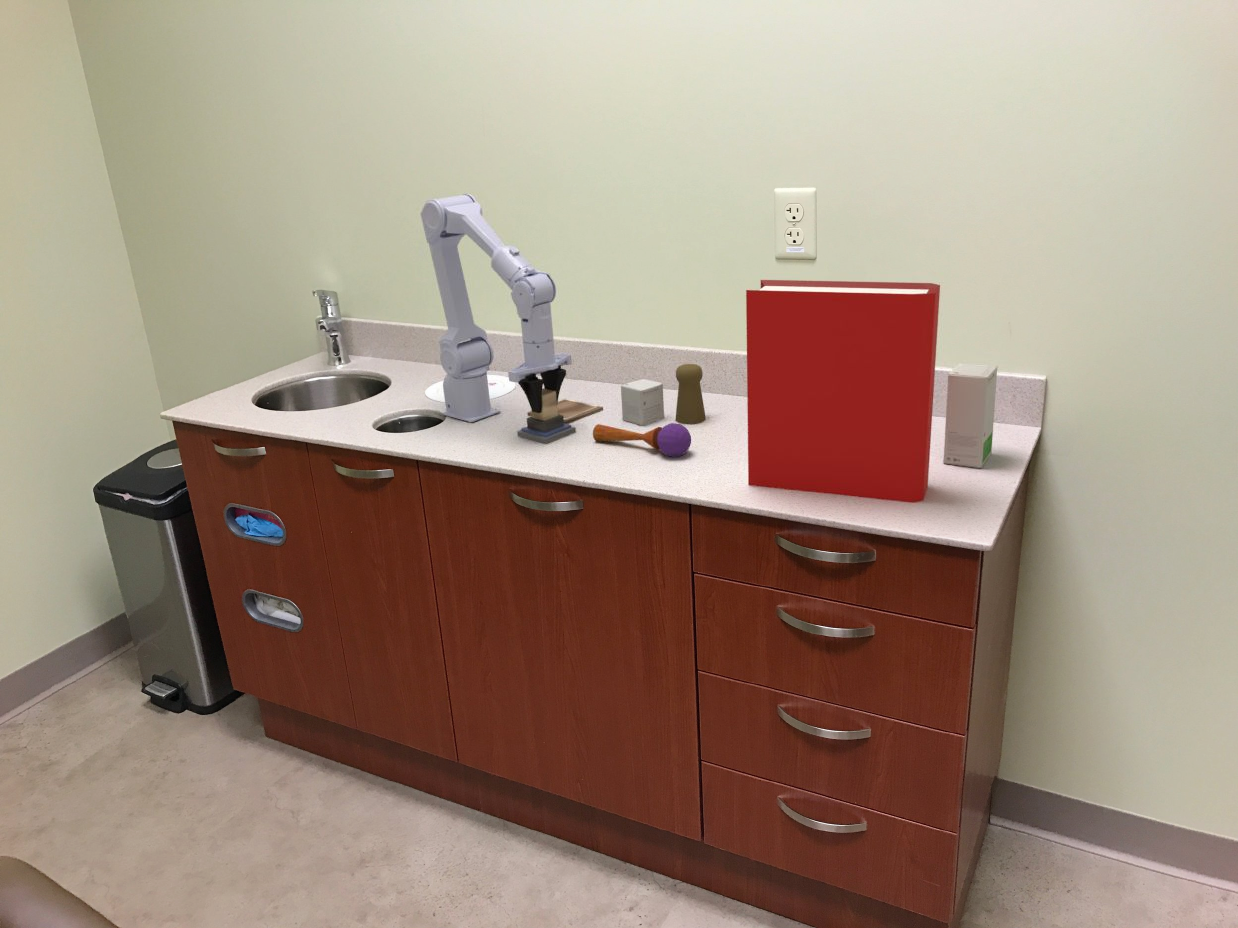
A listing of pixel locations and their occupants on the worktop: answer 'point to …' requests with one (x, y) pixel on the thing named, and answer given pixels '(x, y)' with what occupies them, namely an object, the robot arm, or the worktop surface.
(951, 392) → the skincare box
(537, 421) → the stamp
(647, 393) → the skincare box
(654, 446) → the purple maraca
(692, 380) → the cork
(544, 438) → the ink pad
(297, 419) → the worktop surface
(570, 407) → the board
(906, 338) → the book
